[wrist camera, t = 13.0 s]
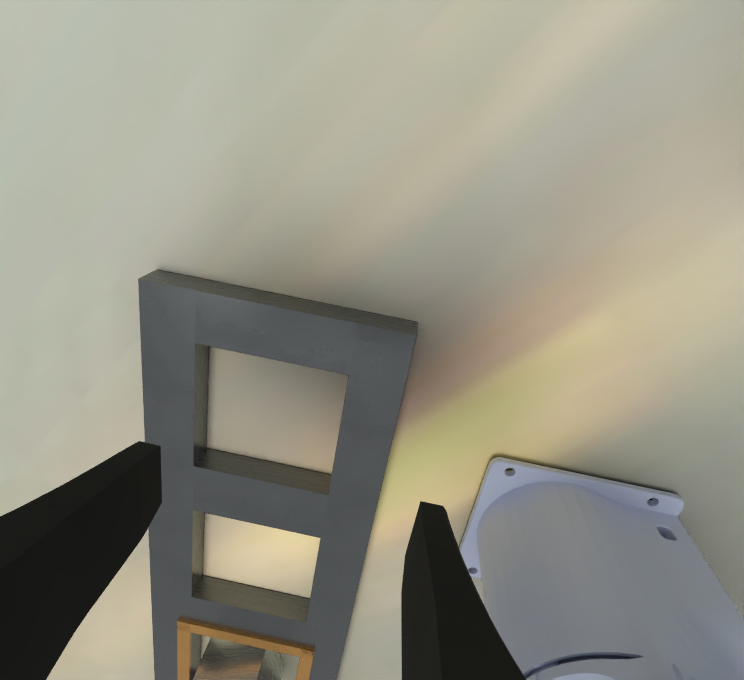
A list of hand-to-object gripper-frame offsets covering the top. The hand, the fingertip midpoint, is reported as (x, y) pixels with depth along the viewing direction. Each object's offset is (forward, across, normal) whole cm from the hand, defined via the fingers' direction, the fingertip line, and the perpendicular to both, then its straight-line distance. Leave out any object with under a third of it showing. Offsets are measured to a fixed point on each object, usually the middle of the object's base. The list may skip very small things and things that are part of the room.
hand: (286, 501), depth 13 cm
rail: (+10, +3, +14) cm, 17 cm away
